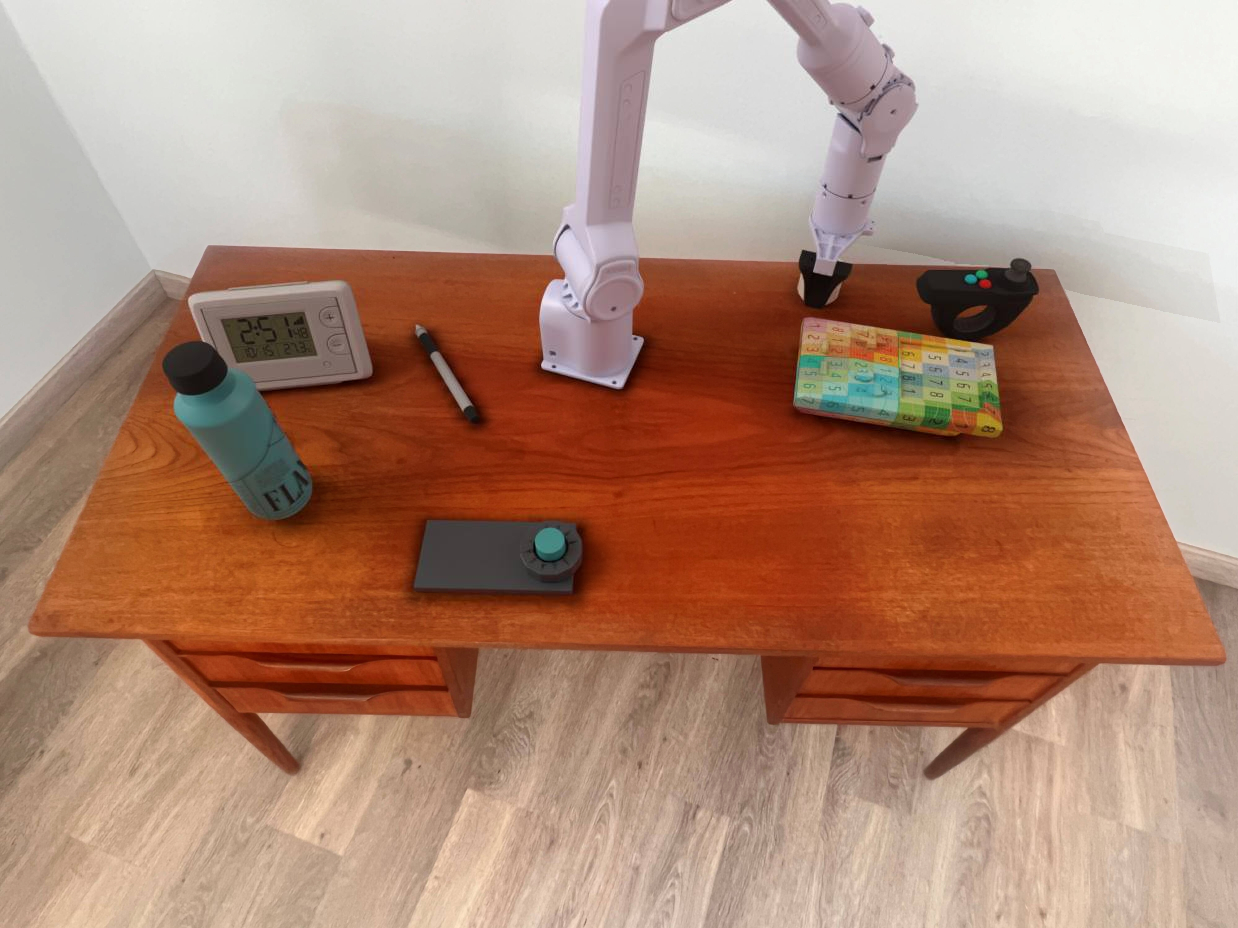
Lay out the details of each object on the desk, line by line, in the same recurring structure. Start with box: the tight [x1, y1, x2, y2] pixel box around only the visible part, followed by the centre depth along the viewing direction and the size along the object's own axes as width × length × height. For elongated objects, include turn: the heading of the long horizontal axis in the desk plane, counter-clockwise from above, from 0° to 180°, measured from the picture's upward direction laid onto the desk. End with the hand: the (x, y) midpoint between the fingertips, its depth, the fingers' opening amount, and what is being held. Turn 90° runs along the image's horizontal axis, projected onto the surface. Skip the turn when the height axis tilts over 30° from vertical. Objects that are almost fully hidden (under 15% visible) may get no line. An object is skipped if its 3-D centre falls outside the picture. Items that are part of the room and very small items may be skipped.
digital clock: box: [187, 279, 374, 392], centre depth 77 cm, size 16×9×11 cm, turn 86°
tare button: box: [535, 528, 566, 561], centre depth 65 cm, size 3×3×2 cm
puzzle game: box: [792, 317, 1004, 439], centre depth 77 cm, size 12×5×20 cm
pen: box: [414, 323, 480, 424], centre depth 81 cm, size 1×16×1 cm, turn 31°
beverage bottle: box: [161, 340, 314, 521], centre depth 63 cm, size 6×7×20 cm
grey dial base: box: [413, 519, 584, 596], centre depth 67 cm, size 15×7×2 cm, turn 89°
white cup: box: [796, 257, 844, 306], centre depth 87 cm, size 5×5×4 cm
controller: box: [915, 257, 1040, 341], centre depth 81 cm, size 4×12×10 cm, turn 88°
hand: (819, 284), depth 87 cm, fingers open, 7 cm apart
